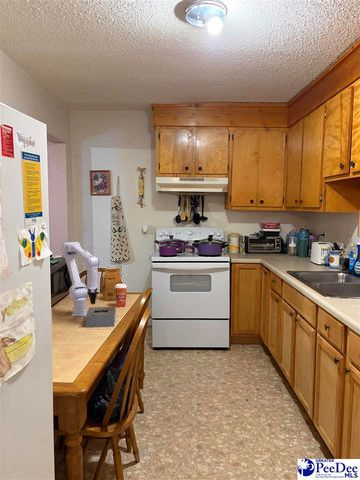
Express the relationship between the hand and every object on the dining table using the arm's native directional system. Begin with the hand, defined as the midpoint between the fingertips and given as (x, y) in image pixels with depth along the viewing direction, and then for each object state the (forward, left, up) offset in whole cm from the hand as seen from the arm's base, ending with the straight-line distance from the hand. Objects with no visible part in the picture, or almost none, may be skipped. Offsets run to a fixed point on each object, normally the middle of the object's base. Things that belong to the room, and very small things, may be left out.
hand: (92, 302), depth 197 cm
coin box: (+3, +5, -10) cm, 12 cm away
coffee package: (-46, +8, -11) cm, 48 cm away
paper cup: (-28, +15, -11) cm, 34 cm away
